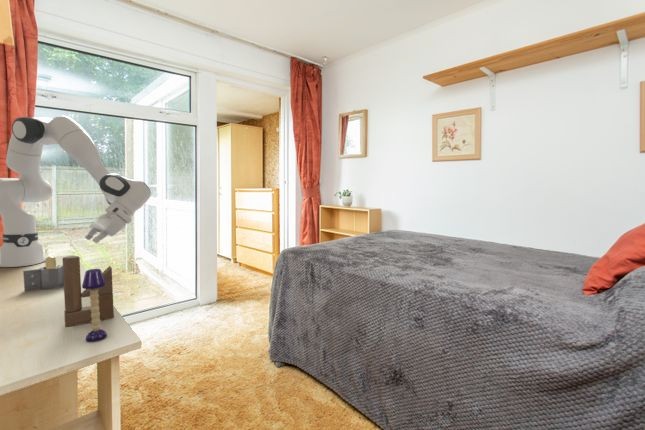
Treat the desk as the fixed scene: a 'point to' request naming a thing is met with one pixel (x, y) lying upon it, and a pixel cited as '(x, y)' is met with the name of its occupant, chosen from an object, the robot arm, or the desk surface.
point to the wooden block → (84, 294)
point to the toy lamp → (94, 302)
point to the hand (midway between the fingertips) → (90, 240)
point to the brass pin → (50, 262)
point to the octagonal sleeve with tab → (43, 278)
